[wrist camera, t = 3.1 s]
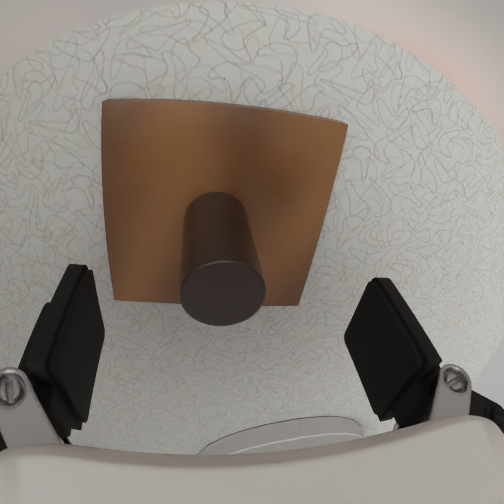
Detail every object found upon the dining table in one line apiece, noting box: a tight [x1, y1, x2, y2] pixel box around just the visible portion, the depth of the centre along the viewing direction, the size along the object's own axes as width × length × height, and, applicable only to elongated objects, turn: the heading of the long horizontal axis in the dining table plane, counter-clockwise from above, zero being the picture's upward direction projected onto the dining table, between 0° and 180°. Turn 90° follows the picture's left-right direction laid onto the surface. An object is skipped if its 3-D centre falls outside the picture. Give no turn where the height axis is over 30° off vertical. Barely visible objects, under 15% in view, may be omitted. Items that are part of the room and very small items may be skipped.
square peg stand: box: [101, 99, 348, 326], centre depth 13 cm, size 11×11×6 cm
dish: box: [199, 417, 364, 455], centre depth 34 cm, size 22×22×5 cm
